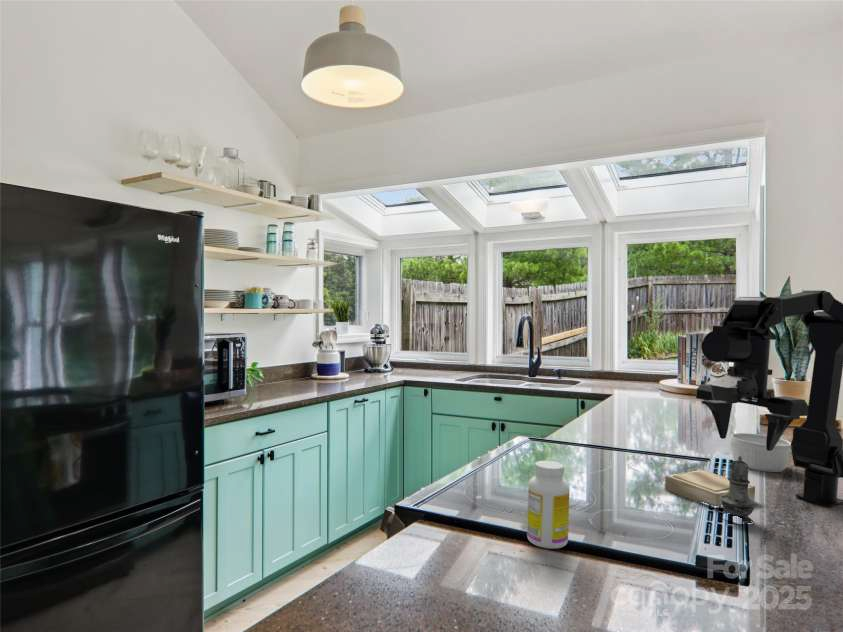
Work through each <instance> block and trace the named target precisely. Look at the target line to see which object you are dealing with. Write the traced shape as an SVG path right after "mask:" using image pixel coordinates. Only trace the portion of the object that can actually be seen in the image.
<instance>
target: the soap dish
mask: <svg viewBox="0 0 843 632" xmlns="http://www.w3.org/2000/svg"><path fill="white" fill-rule="evenodd" d="M728 478H729V477H726V476H723V475H720V474H716V473H714V472H711V471H708V470H705V469H700V470H695V471H694V470H693V471H687V472H681V473H676V474H668V475H665V483H664V490H665V491H667V492H670V493H673V494H676V495H679V496H681V497H684V498H686V499H689V500H691V501H694V502H696V501H697V502H696V503H699V502H704V503H707V504H710V505H713V506H721V505H722V500H721V499H720V497H721V496H723V495H727V494H728V492H729V484H730V481H729V480H728ZM755 496H756V486H754V485H752V484H748V497H749V499H751V500H753V501H754V502H755Z"/></svg>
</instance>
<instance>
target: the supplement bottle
mask: <svg viewBox="0 0 843 632" xmlns="http://www.w3.org/2000/svg"><path fill="white" fill-rule="evenodd" d="M534 472H535V476H533V477H532V478H531V479H529V481H528V488H527V490H528V491H527V492H528V493H527V514H526V515H527V519H526V521H527V522H526V537H527V539H528V541H529V543H530V544H533V545H535V546H537V547H539V548H543V549H551V550H555V549H561V548H564V547H565V546H566V545H567V544H568V542H569V523H570V520H569V519H570V484H569V483H568V482H567V480H566V479H564V478H563V475H564V474H565V465H564V464H562V463H561V462H557V461H552V460H538V461H536V462H535V463H534Z"/></svg>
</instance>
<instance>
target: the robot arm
mask: <svg viewBox="0 0 843 632" xmlns="http://www.w3.org/2000/svg"><path fill="white" fill-rule="evenodd" d="M796 315H797V316H798V315H801V316H800V317H801V318H800V321H801V322H802V324H803V325H804V326H805V328H806V329H807V338H808V339H807V340H808V341H809V343H810V345H811V347H812V349H813V350H814V358H813V359H814V360H813V366H812V375H811V380H810V381H811V383H810V388H809V397H808V403H807V402H806V401H807V400H806V399H802V398H797V397H791V396H786V395H785V396H772V391H771V390H768V380H769V379H768V378H769V377H768V376H772V375H773V369H770V368H769V362H770V349H771V347H770V346H771V341H772V340H773V341H776V340H777V339H778V336H777V335H776V333H774V332H773V331H772V330H771V328H773V327H775V326H777V325H779V324H781V323H782V322H783V319H785V318H787V317H793V316H796ZM700 346H701V352H702V354H703V356H704V358H705V359H706V360H708V361H711V362H713V363H733V365H732V366H728V368H727V373H726V375H725V376H721V377H719V378H717V379H715V380H714V381H712V382H710V383H709V384H699V386H698V387H697V388H696V390H695V399H698V400H701V401H700V402H701V404H703V405H705V406H706V407H707V408H708V409H709V410H710V411H711V414H712V417H713V418H714V422H715V425H716V428H717V431H718V435H719V438H720V439H724V440H726V438H727V435H728V431H729V425H730V420H731V416H732V415H731V413H732V408H733V404H737V403H740V404H745V405H747V404H748V405H752V406H757V407H761V408H762V407H763V408H766V409H767V410H768V412H769V413H764V416H765V418H766V421H767V431H766V432H767V433H766V435H767V440H766V447H767V451H772V450H773V448H774V447H775V445H776V444H777V442H778V440H779V439H781V437H782V435H783V434H784V433H785V431H786V430H787V428H789V426H790V425H791V424H792V422H793V421H794V420H800V418H801V417H802V416H803V417H805V416H806V419H805V420H804V421H803V423H802V424H801V425H799V426H795V427H794V428H793V429H792V439H791V442H790V443H791V450H790V452H791V455H792V460H793V466H794V467H796V468H802V469H804V479H803V490H802V492H800V493H799V492H798V493H795V497H796V498H798V499H803V500H805V501H808V502H812V503H815V504H817V505H820V506H824V507H827V508H828V507H829V508H830V507H833V506H834V507H835V506H838V505H842V504H843V499H841V498H838V492H839V489H838V488H839V486H838V485H839V478H842V479H843V437H842V435H841V434H840V431H839V430H838V428H837V425H836V422H837V421H836V420H837V414H838V413H837V412H838V408H839V407H838V405H839V398H840V391H841V383H842V377H843V302H841V301H839V300H838V299H836V298H835V297H834V295H833V294H832V293H831V292H829V291H827V290H803V291H801V292H797V293H791V294H785V295H781V296H774V297H773V296H738V297H736V298H735V299H734V300H733V303H732V304H731V306H730V307H729V309H728V311H727V312H726V313H725V315H724V317H723V319H722V320H721V322H720V324H713V325H712V330H711V331H710V332H708V333H707V334H706V335H705V336H704V337H703V340H702V341H701V345H700Z"/></svg>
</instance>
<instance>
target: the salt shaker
mask: <svg viewBox="0 0 843 632" xmlns="http://www.w3.org/2000/svg"><path fill="white" fill-rule="evenodd" d="M738 459H739V460H737V461H734V460H733V461H732V462H731V463H730V475H729V477H727V478H728V480H729V481H730V484H729V492H728V494H727V495H723V496H721V497H720V499H721V500H722V505H723V507H724V508H723V509H724V510H725V511H726V513H727V512H728V513H730V515H732V516H738V517H740V518H742V519H743V522H745V523H752V522H753V523H754V520H753V519H752V518H750V517H749V515H751V514H752V513H753V512H754V509H755V507H756V506H757V503H756V502H755V500H754V501H753V500H751V499H749V497H748V485H751V481H750V480H749V468H748V465H747V463H745V462H743V461H742V460H741V459H742V458H741V456H739V458H738ZM751 521H752V522H751Z"/></svg>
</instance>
